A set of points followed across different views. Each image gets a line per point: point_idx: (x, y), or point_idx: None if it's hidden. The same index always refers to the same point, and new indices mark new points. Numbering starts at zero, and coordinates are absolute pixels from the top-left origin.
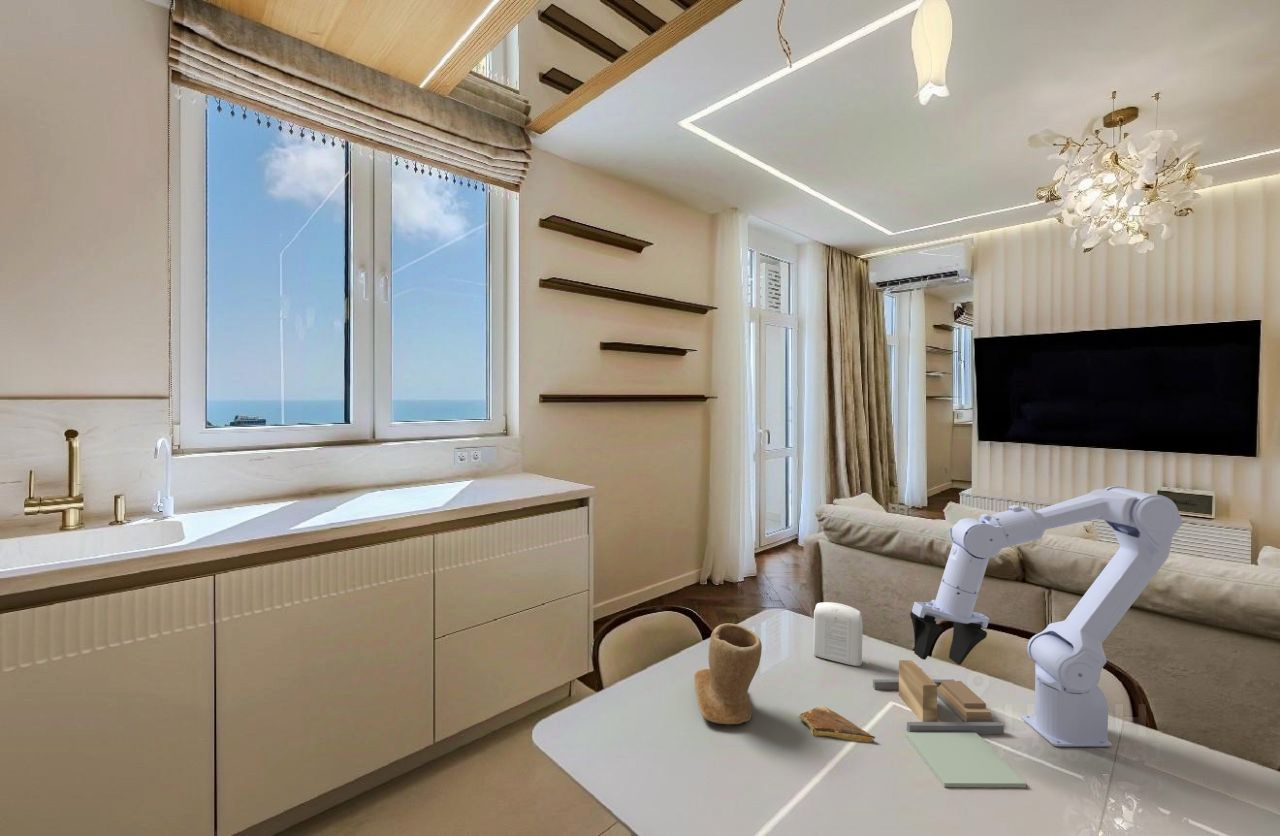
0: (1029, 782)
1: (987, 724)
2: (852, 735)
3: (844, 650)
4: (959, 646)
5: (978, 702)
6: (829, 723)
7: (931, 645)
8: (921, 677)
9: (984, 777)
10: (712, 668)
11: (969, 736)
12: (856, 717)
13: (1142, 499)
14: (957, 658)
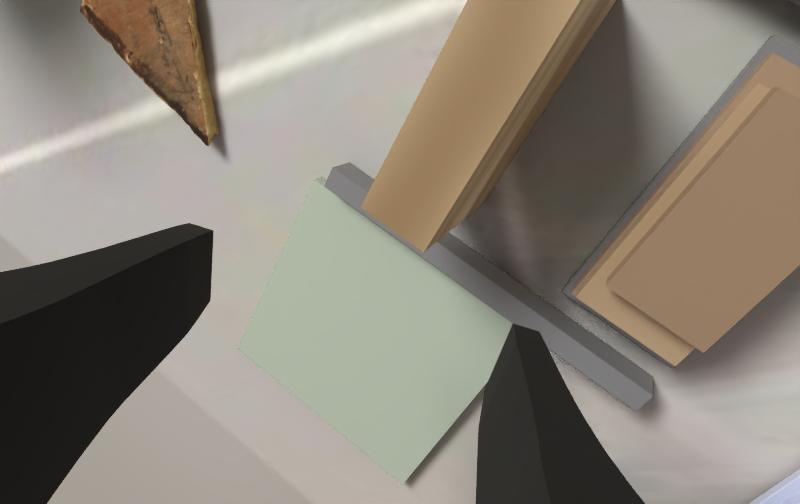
0: (434, 481)
1: (584, 367)
2: (160, 97)
3: None
4: (497, 469)
5: (678, 327)
6: (126, 13)
7: (123, 398)
8: (426, 156)
9: (334, 408)
10: None
11: (482, 325)
12: (259, 4)
13: None
14: (489, 402)
